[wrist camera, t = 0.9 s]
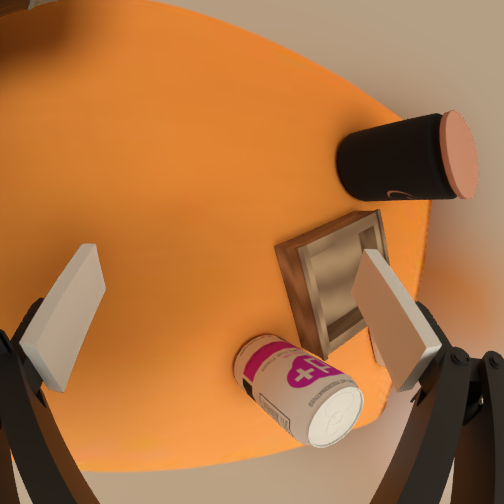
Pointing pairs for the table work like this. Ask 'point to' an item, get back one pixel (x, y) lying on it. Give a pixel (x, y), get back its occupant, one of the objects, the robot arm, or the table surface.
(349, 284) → the crate
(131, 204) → the table surface
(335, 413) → the supplement can
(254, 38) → the table surface
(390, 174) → the coffee jar
